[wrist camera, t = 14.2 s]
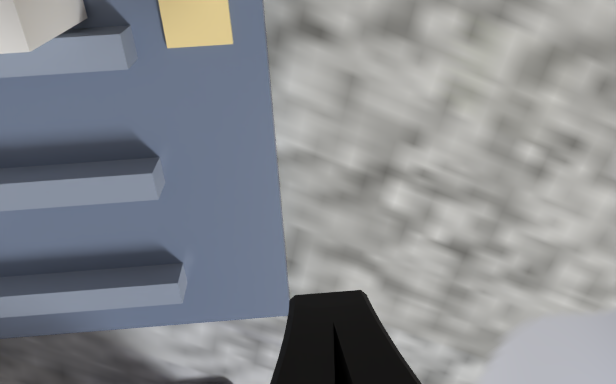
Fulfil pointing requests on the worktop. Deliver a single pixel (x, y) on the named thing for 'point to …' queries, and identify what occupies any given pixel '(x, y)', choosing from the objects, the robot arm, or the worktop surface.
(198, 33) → the switch board
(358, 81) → the worktop surface
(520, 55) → the worktop surface
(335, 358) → the robot arm
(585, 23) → the worktop surface
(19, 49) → the tab
